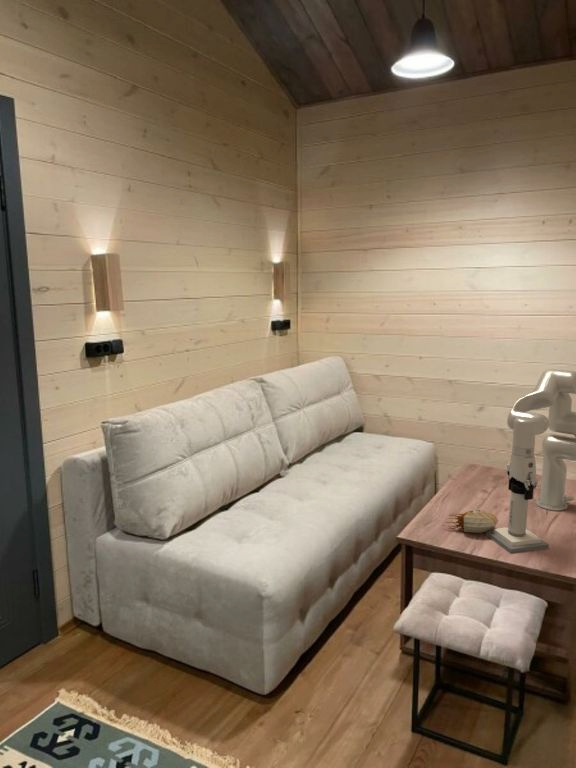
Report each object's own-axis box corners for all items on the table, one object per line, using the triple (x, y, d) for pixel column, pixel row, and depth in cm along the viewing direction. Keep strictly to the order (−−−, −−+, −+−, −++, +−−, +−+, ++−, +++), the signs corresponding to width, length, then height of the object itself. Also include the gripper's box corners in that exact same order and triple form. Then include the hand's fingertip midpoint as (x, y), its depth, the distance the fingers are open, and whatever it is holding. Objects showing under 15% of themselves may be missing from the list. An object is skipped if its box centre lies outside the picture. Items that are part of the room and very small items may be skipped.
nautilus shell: (441, 535, 227) (441, 522, 242) (500, 538, 222) (496, 524, 236) (441, 516, 227) (441, 503, 241) (500, 518, 221) (496, 505, 235)
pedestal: (521, 530, 231) (522, 523, 231) (548, 548, 216) (549, 540, 215) (485, 534, 228) (486, 527, 227) (510, 553, 212) (510, 545, 212)
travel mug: (525, 530, 224) (528, 480, 220) (525, 537, 218) (529, 486, 214) (507, 528, 226) (511, 479, 222) (508, 535, 220) (511, 484, 216)
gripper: (547, 457, 208) (544, 502, 211) (517, 442, 224) (515, 484, 228) (528, 459, 206) (525, 504, 210) (500, 444, 223) (498, 487, 226)
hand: (520, 494), depth 219 cm, fingers open, 9 cm apart
